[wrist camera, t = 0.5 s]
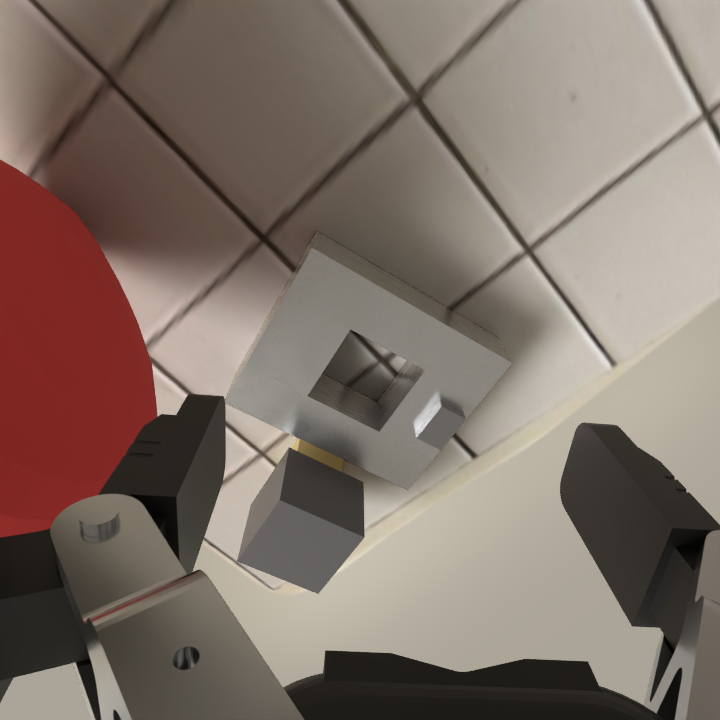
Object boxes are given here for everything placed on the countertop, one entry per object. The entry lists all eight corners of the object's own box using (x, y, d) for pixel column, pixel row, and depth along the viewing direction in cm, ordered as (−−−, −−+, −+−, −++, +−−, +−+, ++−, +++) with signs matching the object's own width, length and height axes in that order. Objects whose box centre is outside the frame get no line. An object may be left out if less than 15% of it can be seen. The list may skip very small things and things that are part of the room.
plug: (294, 418, 34) (279, 499, 27) (362, 451, 35) (364, 537, 28) (258, 472, 36) (236, 561, 29) (324, 502, 37) (318, 593, 30)
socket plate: (316, 231, 28) (311, 252, 25) (498, 337, 31) (515, 369, 28) (235, 374, 32) (221, 409, 29) (403, 457, 35) (408, 498, 32)
